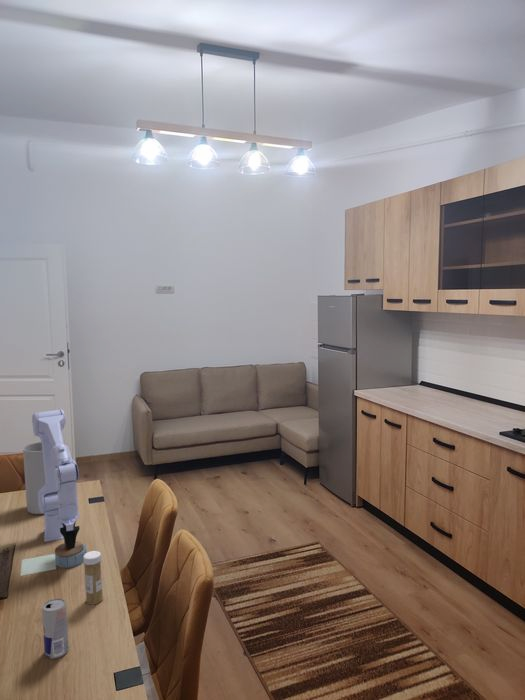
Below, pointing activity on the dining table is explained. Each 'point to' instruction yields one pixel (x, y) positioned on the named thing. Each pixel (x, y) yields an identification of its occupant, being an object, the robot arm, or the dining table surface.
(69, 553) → the lid
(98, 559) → the sprinkles bottle
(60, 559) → the bowl
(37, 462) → the cylinder vase
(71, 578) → the dining table surface
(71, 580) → the dining table surface
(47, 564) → the mat
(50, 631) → the energy drink
